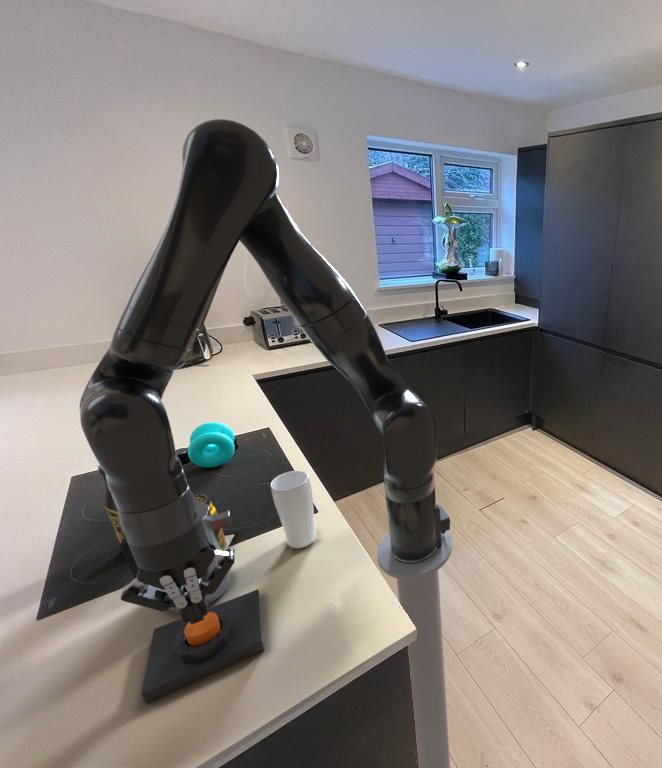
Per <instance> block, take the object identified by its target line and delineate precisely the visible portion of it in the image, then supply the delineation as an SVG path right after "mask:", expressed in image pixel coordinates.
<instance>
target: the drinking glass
mask: <svg viewBox="0 0 662 768" xmlns="http://www.w3.org/2000/svg"><path fill="white" fill-rule="evenodd" d="M269 486H270V491H271V496H272V500H273V504H274V507H275V510H276V513H277V515H278V518H279V521H280V523H281V526H282V530H283V532H284V534H285V537H286V540H287V545H288V546H289V547H290V548H291V549H302V548H305V547H308V546H309V545H311V544H312V543H313V542H314V541H315V539H316V538H317V530H316V524H315V512H314V499H313V498H314V497H313V490H312V483H311V480H310V476H309V474H308V473H307V472H306V471H303V470H291V471H286V472H283V473H282V474H279V475H277V476H276V477H274V479H272V481H271V482H270V485H269Z"/></svg>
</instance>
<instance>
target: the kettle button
mask: <svg viewBox="0 0 662 768" xmlns="http://www.w3.org/2000/svg"><path fill="white" fill-rule="evenodd" d="M220 627H221V626H220V623H219V620H218V617H217V615H216V614H215V613H213V612H208V613H207V615H205V616H204V620H202V621H200V622H197V623H195V624H192V625H191V623H190V622H189V623H188V624H187V626H186V627H185V630H184V634H185V636H186V639H187V641H188V644H189V645H191V646H200V645H202V644H205V643H207V642H209V641H210V640H211V639H213V638H214V637H215V636H216V635H217V634H218V633H219V631H220Z"/></svg>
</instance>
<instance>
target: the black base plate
mask: <svg viewBox="0 0 662 768" xmlns="http://www.w3.org/2000/svg"><path fill="white" fill-rule="evenodd" d="M262 605H263V604H262V597H261V594H260V589H255V590H252V591H249V592H247V593H244V594H242V595H239V596H237V597H234V598H231V599H229V600H226V601H224V602H221V603H219V604H215V605H213V606H211V607H208V612H213V613H215V614H216V615H217V617H218V620H219V623H220V626H221V627H220V631H219V633H218V634H217V635H216V636H215V637H214V638H213V639H211V640H210V641H209V642H207V643H205V644H202V645H200V646H191V645H189V644H188V641H187V639H186V636H185V634H184V630H185V627H186V626H187V624H188V623H189V622H187V623H186V622H184V620H183V618H182V617H181V618H179V619H176V620H174V621H171V622H169V623H167V624H166V623H165V624H163V625H161V626H159V627H156V628H154V629H153V631H152V637H151V642H150V647H149V652H148V657H147V662H146V667H145V672H144V678H143V682H142V687H141V692H140V693H141V697H142V699H143V701H144V703H145V705H148V704H150V703H152V702H155V701H156V700H158V699H160V698H163V697H166V696H167V695H169V694H172V693H174V692H176V691H179V690H180V689H182V688H185V687H187V686H189V685H192V684H194V683H196V682H198V681H200V680H202V679H205V678H207V677H209V676H212V675H214V674H215V673H218V672H220V671H222V670H225V669H227V668H229V667H231V666H233V665H236V664H237V663H240V662H243V661H244V660H246V659H249V658H251V657H253V656H256V655H258V654H260V653H262V652H265V650H266V647H265V636H264V635H265V633H264V621H263V606H262Z"/></svg>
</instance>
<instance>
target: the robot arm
mask: <svg viewBox="0 0 662 768" xmlns="http://www.w3.org/2000/svg"><path fill="white" fill-rule="evenodd" d="M181 164H182V165H181V166H182V171H181V175H180V181H179V186H178V190H177V195H176V198H175V202H174V205H173V208H172V211H171V213H170V217H169V219H168V221H167V224H166V226H165V229H164V231H163V233H162V236H161V238H160V240H159V242H158V244H157V246H156V248H155V249H154V252H153V253H152V255H151V257H150V259H149V261H148V262H147V264H146V265H145V268H144V269H143V272H141V273H142V274H141V275H140V277H139V278H138V280H137V283H136V285H135V286H134V289H133V290H132V292H131V294H130V296H129V298H128V301H127V303H126V306H125V308H124V310H123V312H122V314H121V315H120V318H119V321H118V322H117V325H116V328H115V330H114V332H113V335H112V339H111V342H110V344H109V347H108V349H107V350H106V352H105V353H104V355H103V356H102V358H101V360H100V361H99V363H98V364H97V366H96V368H95V369H94V371H93V373H92V375H91V376H90V378H89V380H88V381H87V383H86V385H85V387H84V390H83V392H82V394H81V396H80V400H79V421H80V426H81V429H82V432H83V435H84V437H85V439H86V442H87V443H88V446H89V448H90V450H91V452H92V454H93V455H94V457H95V459H96V460H97V462H98V465H100V466H101V467H102V469H103V471H104V472H105V475H106V480H107V484H108V487H109V490H110V492H111V495H112V497H113V500H114V502H115V505H116V507H117V510H118V514H119V520H120V525H121V528H122V533H123V536H124V538H125V539H126V540H127V542H128V545H129V547H130V550H131V552H132V554H133V557H134V559H135V562H136V564H137V567H138V572H137V575H136V578H135V579H134V578H133V579H132V580H128V581H126V582H125V584H124V586H123V589H122V592H121V596H120V600H121V601H122V602H124V603H125V602H126V603H128V604H132V605H137V606H140V607H144V608H147V609H151V610H155V611H158V612H166V611H168V610H170V609H169V608H170V607H177V608H178V609H179V610H180V612H181V613H180V615H181V619H182V618H183V620H184V622H186V623H187V622H190V623H191V625H192V624H195V623H197V622H200V621H202V620H204V616H205V615H207V613H208V608H209V605H208V602H207V599H206V595H207V594H213V593H214V592H215V591H216V590H217V588H218V587H219V585H220V584H221V582H222V581H223V579H224V578H225V576H226V575H227V573H228V572H229V573H230V570H231V569H232V567H233V565H234V564H235V561H236V560H235V559H236V558H235V555H236V553H235V552H236V551H235V548H227V550H226V551H219V550H216V548H215V546H214V545H213V544H211V543H210V542H209V541H208V538H207V535H206V531H205V528H204V525H203V522H202V519H201V515H200V512H199V509H198V506H197V503H196V500H195V497H194V495H195V494H194V493H193V492H192V490H191V488H190V486H189V483H188V479H187V476H186V473H185V470H184V467H183V464H182V462H181V459H180V457H179V456H178V454H177V452H176V447H175V440H174V435H173V432H172V431H173V430H172V427H171V422H170V419H169V416H168V412H167V409H166V407H165V405H164V402H163V401H162V399H163V396H164V394H165V391H166V389H167V387H168V385H169V383H170V381H171V378H172V377H173V375H174V372H175V371H176V370H178V369H180V368H182V367H183V366H184V365H185V363H186V362H187V361H188V359H189V357H190V355H191V353H192V351H193V349H194V346H195V344H196V342H197V340H198V338H199V335H200V333H201V330H202V329H203V326H204V324H205V322H206V319H207V317H208V314H209V311H210V310H211V306H212V304H213V301H214V298H215V296H216V293H217V290H218V288H219V285H220V283H221V280H222V277H223V275H224V272H225V270H226V269H227V268H226V267H227V266H228V263H229V261H230V259H231V257H232V255H233V253H234V251H235V249H236V248H237V245H238V244H239V242H240V243H241V244H242V245H243V246H244V248H245V249H246V250H247V251H248V253H249V254H250V255H251V256H252V258H253V259H254V260H255V262H256V263H257V265H258V266H259V268H260V269H261V272H262V273H263V275H264V276H265V277H266V279H267V281H268V283H269V284H270V286H271V288H272V289H273V290H274V292H275V293H276V295H277V297H278V298H279V300H280V301H281V302H282V304H283V305H284V307H285V309H286V310H287V311H288V313H289V314H290V315H291V318H292V319H293V320H294V321H295V323H296V324H297V325H298V327H299V328H300V329H301V331H302V332H303V333H304V335H305V336H306V337H307V339H308V340H309V341H310V343H311V344H312V345H313V346H314V348H315V349H316V350H317V351H318V352H319V353H320V354H321V356H323V358H324V359H325V360H326V361H327V362H328V363H329V364H330V366H332V367H333V368H335V369H336V370H337V371H338V372H339V373H340V374H341V375H342V376H343V377H344V378H346V380H347V381H349V383H350V384H351V385H352V386H353V388H354V389H355V391H356V392H357V393H358V395H359V396H360V398H361V400H362V402H363V404H364V405H365V407H366V408H367V410H368V412H369V413H370V416H371V418H372V420H373V422H374V424H375V426H376V428H377V430H378V431H379V433H380V435H381V437H382V441H383V442H382V443H383V444H382V445H383V452H384V463H383V464H382V474H383V475H382V476H383V485H384V492H385V493H384V494H385V502H386V503H385V504H386V512H387V513H386V514H387V520H388V521H387V523H388V531H389V532H390V540H391V553H392V556H393V557H394V558H395V559H396V560H397V561H399V562H401V563H405V564H416V563H420V562H423V561H425V560H427V559H429V558H430V557H431V556H433V555H434V554H435V552H436V551H437V549H439V548H441V547H442V538H441V533H442V534H444V533H445V532H446V531H449V530H451V519H450V516H449V515H448V513H447V512H446V511H445V510H444V508H443V506H442V505H441V504H439V503H438V504H437V499H436V482H435V466H436V463H437V457H438V452H437V451H438V447H437V445H438V443H437V438H438V437H437V424H436V423H437V422H436V418H435V415H434V413H433V411H432V409H431V408H430V407H429V405H427V403H425V401H423V400H422V398H421V397H420V396H419V395H418V394H417V393H416V392H415V391H414V390H413V389H412V388H410V386H409V385H408V384H407V382H406V381H405V380H404V379H403V378H402V376H401V375H400V374H399V372H398V371H397V370H396V369H395V367H394V366H393V365H392V363H391V360H389V358H388V355H387V354H386V351H385V348H384V346H383V343H382V341H381V338H380V336H379V334H378V332H377V330H376V327H375V326H374V324H373V321H372V320H371V319H370V317H369V314H368V313H367V311H366V310H365V309H364V307H363V305H362V304H361V302H360V301H359V299H358V297H357V296H356V295H355V292H354V291H353V289H352V288H351V286H349V284H348V283H347V281H346V280H345V279H344V277H342V276H341V274H340V273H339V272H338V271H337V270H336V269H335V268H334V267H333V266H332V265H331V264H330V263H329V262H328V260H327V259H326V258H325V257H324V256H323V255H322V254H321V253H320V252H319V251H318V250H317V249H316V248H315V247H314V246H313V245H312V244H311V243H310V241H308V239H307V238H306V237H305V236H304V234H303V233H302V232H301V231H300V229H299V227H298V226H297V224H296V223H295V222H294V219H293V218H292V216H291V215H290V213H289V211H288V210H287V208H286V206H285V205H284V203H283V201H282V199H281V198H280V196H279V195H280V194H278V192H277V189H278V185H279V179H280V176H279V175H280V173H279V166H278V163H277V160H276V157H275V155H274V152H273V150H272V149H271V147H270V146H269V145H268V143H267V142H266V141H265V139H264V138H262V137H261V135H260V134H259V133H258V132H256V131H255V130H253V129H252V128H250V127H249V126H247V125H245V124H243V123H240V122H238V121H235V120H231V119H225V118H217V119H216V118H215V119H210V120H209V119H208V120H206V121H203V122H201V123H200V124H198V125H196V126H195V127H194V128H192V129H191V130H190V131H189V133H188V134H187V135H186V138H185V139H184V143H183V145H182V156H181ZM213 560H215V568H214V569H213V571H212V572H211V574H210V575H209V577H208V578H207V581H205V582H204V583H202V578H201V577H202V576H203V575H204V574H205V572H206V571H207V569H208V567H209V566H210V564H211V562H212V561H213ZM186 585H187V586H186ZM187 587H188V588H187ZM189 593H190V595H189Z"/></svg>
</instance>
